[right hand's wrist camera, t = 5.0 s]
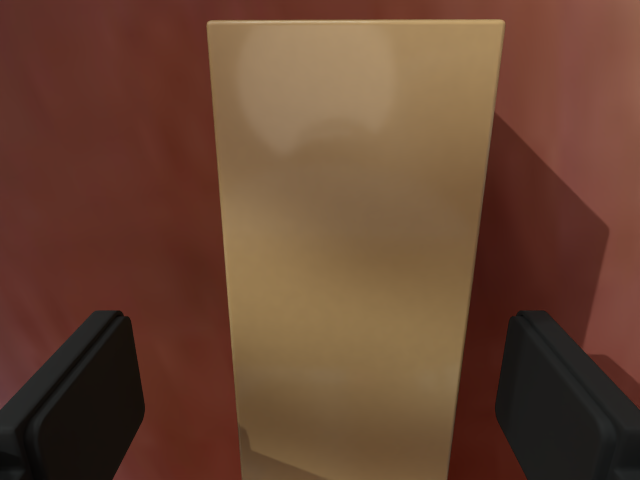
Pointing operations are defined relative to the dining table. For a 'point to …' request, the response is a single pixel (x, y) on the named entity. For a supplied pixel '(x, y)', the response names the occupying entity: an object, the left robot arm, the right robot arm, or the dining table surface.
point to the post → (350, 235)
